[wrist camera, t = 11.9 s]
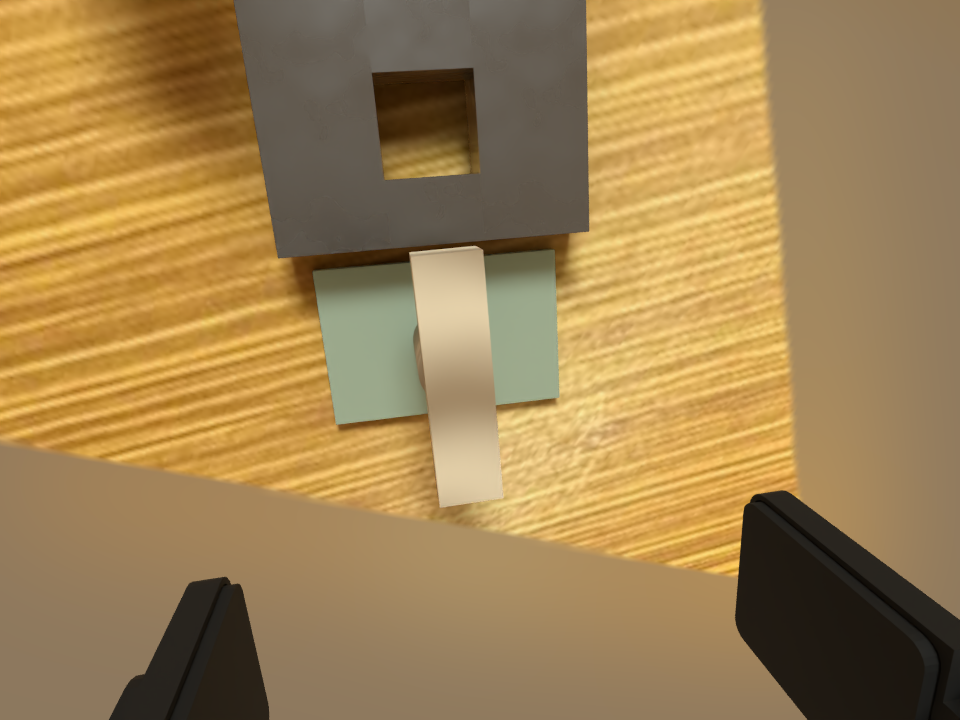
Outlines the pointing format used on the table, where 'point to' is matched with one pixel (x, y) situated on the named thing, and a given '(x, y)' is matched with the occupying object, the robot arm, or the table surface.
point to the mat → (392, 320)
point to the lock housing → (415, 59)
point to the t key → (457, 372)
